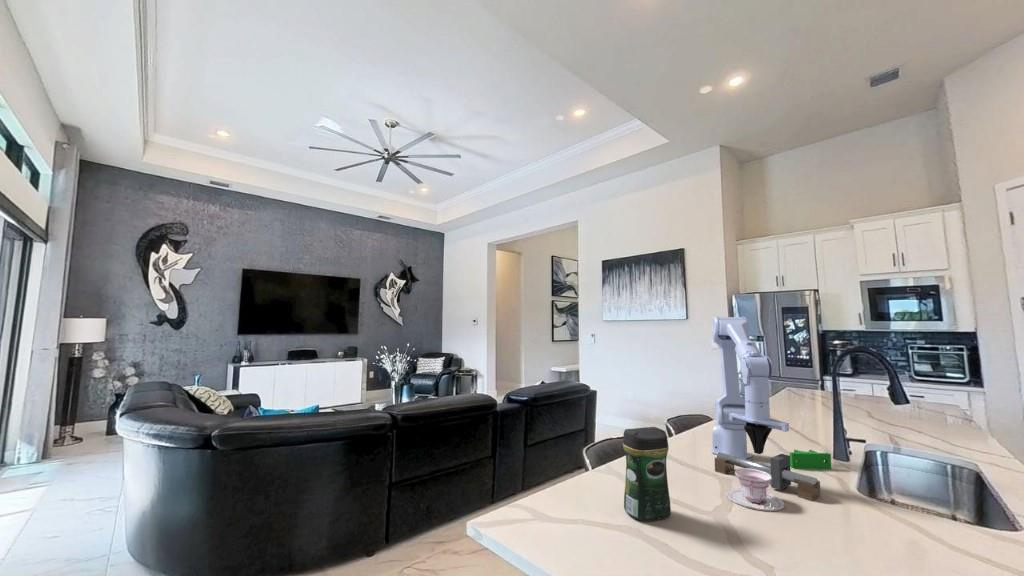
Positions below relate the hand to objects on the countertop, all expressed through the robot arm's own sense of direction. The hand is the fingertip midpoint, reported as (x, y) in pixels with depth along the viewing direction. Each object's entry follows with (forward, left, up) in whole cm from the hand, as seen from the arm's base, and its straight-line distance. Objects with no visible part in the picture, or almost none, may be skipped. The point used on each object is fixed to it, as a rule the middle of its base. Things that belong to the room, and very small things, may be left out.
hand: (758, 453), depth 113 cm
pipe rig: (+1, 0, -7) cm, 7 cm away
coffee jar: (-5, -41, -8) cm, 42 cm away
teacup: (+5, -14, -8) cm, 16 cm away
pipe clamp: (+3, +24, -8) cm, 25 cm away
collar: (+5, 0, -7) cm, 9 cm away
